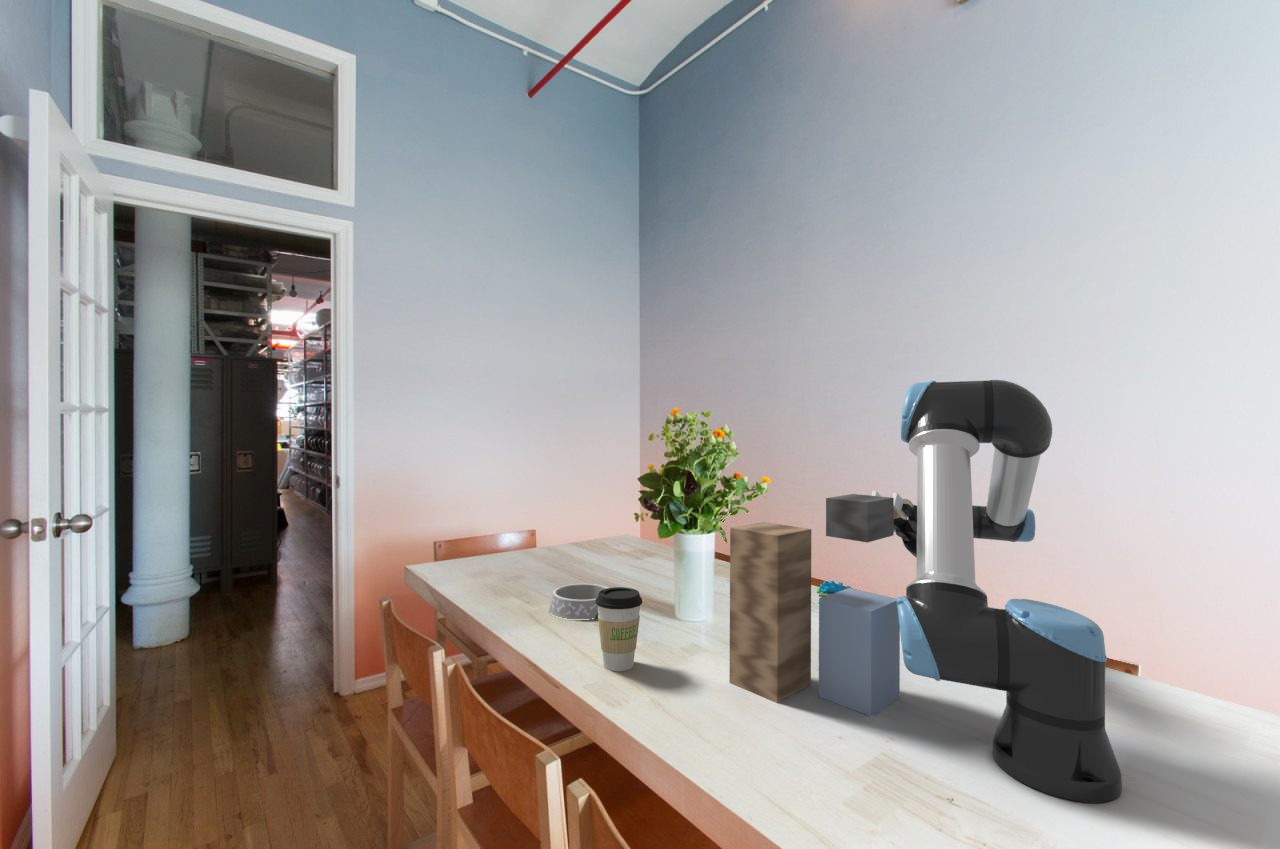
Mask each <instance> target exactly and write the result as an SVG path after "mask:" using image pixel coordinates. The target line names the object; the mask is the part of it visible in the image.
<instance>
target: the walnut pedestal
mask: <svg viewBox="0 0 1280 849" xmlns="http://www.w3.org/2000/svg"><path fill="white" fill-rule="evenodd" d="M729 530H730V532H729V536H730V538H729V540H730V541H729V542H730V543H729V546H730V547H729V551H730V552H729V680H728V681H729V683H730V684H732V685H734V686H737V687H739V688H742V689H744V690H746V691H749V692H751V693H753V694H754V695H755V694H756V695H758V696H760V697H763V698H765V699H766V700H770V701H772V702H775V703H776V704H777V703H780V702H782V701H784V700H786V699H787V698H789V697H791V696H793V695H795V694H797V693H799V692H800V690H801V691H803V690H804V689H807V688H809V687H810V686H811V685H812V529H811V528H807V527H798V526H793V525H785V524H779V523H771V522H766V521H762V522H757V523H751V524H745V525H739V526H733V527H730V529H729ZM802 689H803V690H802ZM796 692H797V693H796ZM794 693H795V694H794ZM785 698H786V699H785Z"/></svg>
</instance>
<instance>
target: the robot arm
mask: <svg viewBox="0 0 1280 849" xmlns="http://www.w3.org/2000/svg"><path fill="white" fill-rule="evenodd" d="M901 412H902V413H901V414H902V415H901V422H900V439H901V441H902V442H904V443H907V444H908V448H909V452H911V453H912V454H913V456H915V457H917V460H916V461H917V463H916V464H917V465H916V466H917V467H916V468H917V469H916V470H917V474H916V476H917V477H916V478H917V482H916V483H917V486H916V493H917V494H916V496H917V497H916V504H913V505H911V506H910V505H909V504H907V503H906V502H905V501H904V500H903V499H904V498H902V497H901V495H899V493H897V492H893V493H892V496H891V498H894V510H895V511H896V512H897V513H898V514H899V515H900V516H901V517H900V518H895V519H894V533H895V535H896V536H898V537H899V538H901V540H902V543H903V546H904V548H905V549H906V550H907V551H908V552H909V553H910V554H912V555H913V557H914V558H916V574H915V575H916V576H915V577H916V578H915V579H913V580H911V582H910V583H909V584H907V585H906V588H905V590H906V594H905V595H901V596H897V597H896V598H897V608H898V617H899V625H900V639H901V640H900V643H901V650H902V657H903V663H904V666H905V669H906V670H908V671H909V672H910V673H912V674H913V675H915V676H920V677H924V678H929V679H934V680H935V681H937V682H938V681H939V682H941V681H946V682H952V683H958V684H964V685H969V686H975V687H981V688H986V689H990V690H997V691H1004V692H1005V693H1006V698H1005V700H1006V705H1005V708H1004V710H1003V713H1002V714H1001V717H1000V719H999V722H998V724H997V727H996V729H995V732H994V734H993V737H992V756H993V757H992V758H993V760H994V762H995V763H996V764H997V765H998V767H999V768H1000V769H1001V770H1002V771H1004V772H1005V773H1006V774H1007V775H1009V776H1011V778H1013V779H1015V780H1017V781H1019V782H1021V783H1022V784H1024V785H1026V786H1028V787H1030V788H1032V789H1035V790H1037V791H1040V792H1042V793H1044V794H1048V795H1050V796H1054V797H1057V798H1061V799H1066V800H1069V801H1076V802H1080V803H1081V802H1082V803H1094V804H1095V803H1096V804H1097V803H1098V804H1099V803H1106V802H1111V801H1113V800H1117V798H1119V796H1121V795H1122V788H1123V787H1122V772H1121V768H1120V765H1119V763H1118V761H1117V758H1116V755H1115V753H1114V750H1113V747H1112V743H1111V741H1110V739H1109V736H1108V734H1107V730H1106V662H1107V661H1108V660H1107V659H1108V657H1107V655H1106V654H1107V653H1106V647H1105V646H1106V645H1105V635H1104V632H1103V630H1102V628H1101V627H1100V626H1099V624H1097V623H1096V622H1095V621H1094V620H1092V619H1091V618H1089V617H1087V616H1086V615H1083V614H1080V613H1078V612H1076V611H1073V610H1072V609H1071V610H1070V609H1068V608H1064V607H1062V606H1058V605H1055V604H1052V603H1047V602H1043V601H1038V600H1032V599H1025V598H1020V599H1019V598H1011V599H1009V600H1007V601H1006V604H1005V605H1004V608H995V607H989V606H988V603H989V602H988V596H987V593H986V592H985V591H984V590H983V589H981V588H980V587H979V585H977V583H976V567H975V566H976V565H975V564H976V563H975V562H976V561H975V540H974V539H982V540H990V541H991V540H992V541H1002V542H1011V543H1016V542H1020V543H1022V542H1023V543H1029V542H1032V541H1033V540H1035V539H1034V538H1035V536H1036V517H1035V516H1036V515H1035V513H1034V511H1033V510H1032V509H1030V508H1029V503H1030V500H1031V496H1032V492H1033V488H1034V483H1035V478H1036V476H1037V471H1038V468H1039V464H1040V459H1041V455H1043V454H1044V453H1046V451H1047V450H1048V449H1049V447H1050V445H1051V441H1052V436H1053V423H1052V419H1051V416H1050V415H1049V412H1048V410H1047V408H1046V407H1045V405H1044V404H1043V403H1042V402H1041V400H1040V399H1039V398H1038V397H1037V396H1036V395H1035V393H1033V392H1031V391H1030V390H1028V388H1026V387H1023V386H1021V385H1020V384H1018V383H1015V382H1012V381H1008V380H1004V379H1003V380H1001V379H990V380H989V379H988V380H965V381H962V380H961V381H960V380H959V381H941V382H940V381H939V382H937V381H936V380H931V381H926V382H925V381H924V382H915V383H912V384H911V385H910V386H909V387H908V388H907V390H906V393H905V395H904V402H903V406H902V411H901ZM990 443H991V445H992V446H993V447H994V451H993V452H994V453H993V459H992V464H991V465H992V466H991V474H990V478H989V479H990V480H989V487H988V494H987V501H986V505H985V506H984V505H973V493H972V490H973V489H972V488H973V487H972V468H971V466H972V465H971V464H972V463H971V458H972V457H973V456H975V455H976V454H977V453H978V451H979V450H980V447H981V446H980V445H981V444H990ZM871 492H872V493H871V496H880V497H882V495H881V494H880V493H879V492H878V491H877V490H872V491H871Z"/></svg>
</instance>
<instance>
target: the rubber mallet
mask: <svg viewBox="0 0 1280 849" xmlns="http://www.w3.org/2000/svg"><path fill="white" fill-rule="evenodd" d="M880 496H881V495H880ZM880 496H872V495H866V494H857V493H850V494H845V495H838V496H830V497H826V498H825V536H826V537H830V538H836V539H843V540H848V541H849V540H850V541H853V542H854V541H856V542H862V543H871V542H875V541H878V540H883V539H885V538H890V537H893V536H895V535H894V533H895V532H894V519H895V518H900V517H901V516H900V515H899V514H898V513H897V512H896V511H895V510H894V498H892V496H891V497H888V496H881V497H880ZM902 499H903V500H904V501H905V502H906V503H907V504H909V505H910V506H911V505H914V504H913V502H912V501H911V500H910V499H908V498H902ZM901 518H902V517H901Z"/></svg>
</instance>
